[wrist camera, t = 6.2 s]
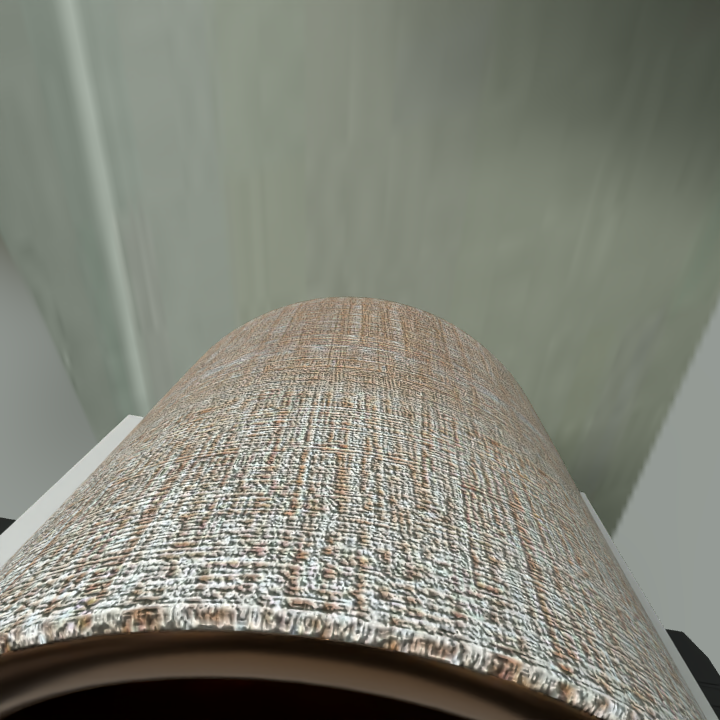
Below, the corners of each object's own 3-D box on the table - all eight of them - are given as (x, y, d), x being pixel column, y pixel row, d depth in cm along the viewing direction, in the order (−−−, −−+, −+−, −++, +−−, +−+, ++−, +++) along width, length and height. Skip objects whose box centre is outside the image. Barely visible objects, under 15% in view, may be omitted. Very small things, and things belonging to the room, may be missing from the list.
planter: (538, 578, 16) (730, 1115, 7) (233, 599, 17) (59, 1072, 8) (528, 259, 12) (980, 555, 3) (129, 319, 13) (-447, 651, 4)
